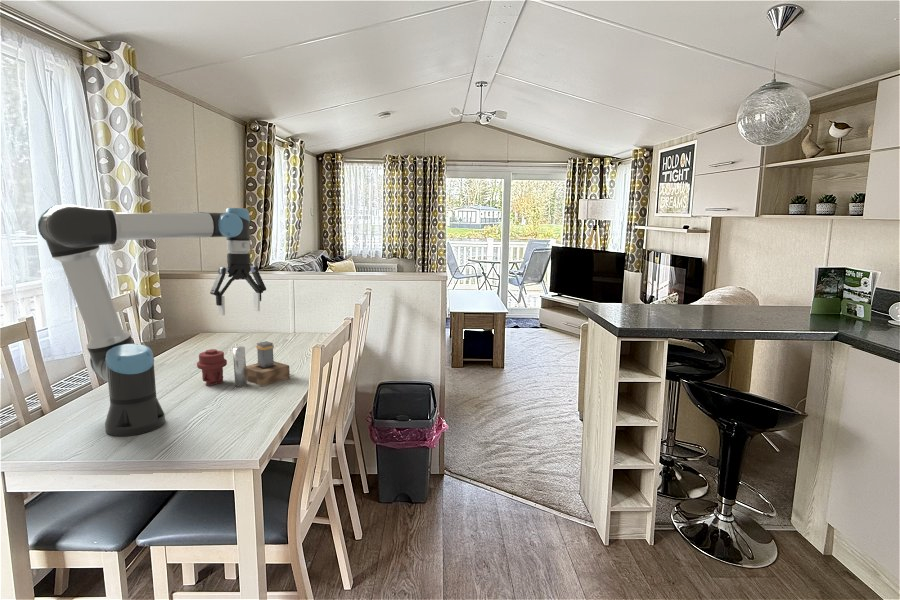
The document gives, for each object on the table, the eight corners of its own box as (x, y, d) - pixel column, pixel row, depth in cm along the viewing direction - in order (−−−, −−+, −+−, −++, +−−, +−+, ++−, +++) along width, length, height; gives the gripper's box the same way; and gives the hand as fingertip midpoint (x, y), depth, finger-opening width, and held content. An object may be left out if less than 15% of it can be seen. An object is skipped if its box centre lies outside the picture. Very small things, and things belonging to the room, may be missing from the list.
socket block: (262, 386, 193) (261, 372, 192) (243, 379, 200) (242, 366, 199) (289, 378, 202) (289, 365, 201) (270, 372, 209) (270, 360, 208)
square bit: (264, 381, 198) (263, 345, 196) (258, 379, 200) (256, 343, 198) (275, 378, 201) (273, 342, 199) (268, 376, 204) (266, 341, 202)
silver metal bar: (239, 387, 191) (236, 349, 189) (232, 385, 193) (230, 348, 191) (249, 384, 194) (247, 347, 192) (242, 382, 196) (240, 345, 194)
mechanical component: (233, 379, 199) (216, 388, 190) (209, 378, 201) (192, 386, 192) (231, 348, 197) (214, 354, 188) (207, 346, 199) (189, 353, 190)
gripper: (210, 254, 174) (211, 318, 177) (275, 252, 194) (276, 310, 196) (198, 252, 178) (200, 315, 181) (263, 251, 198) (264, 307, 201)
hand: (239, 312), depth 189 cm, fingers open, 13 cm apart
